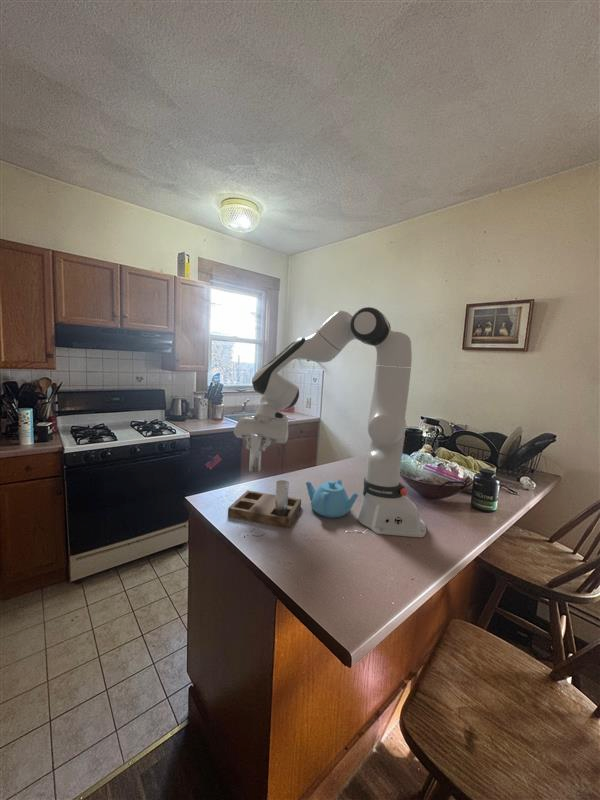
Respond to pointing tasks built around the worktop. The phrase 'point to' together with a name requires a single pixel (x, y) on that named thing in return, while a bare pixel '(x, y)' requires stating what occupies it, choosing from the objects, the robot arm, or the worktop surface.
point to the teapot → (330, 499)
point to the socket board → (263, 509)
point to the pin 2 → (281, 498)
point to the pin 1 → (255, 452)
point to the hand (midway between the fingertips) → (255, 449)
